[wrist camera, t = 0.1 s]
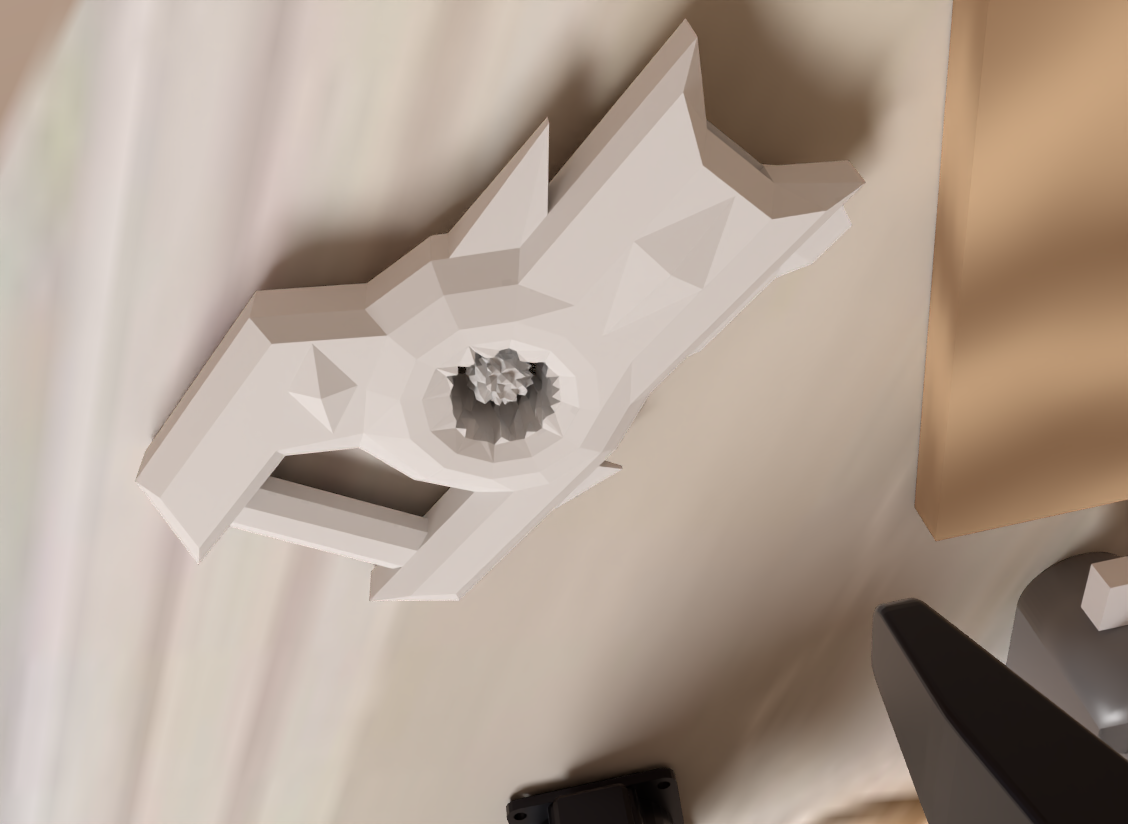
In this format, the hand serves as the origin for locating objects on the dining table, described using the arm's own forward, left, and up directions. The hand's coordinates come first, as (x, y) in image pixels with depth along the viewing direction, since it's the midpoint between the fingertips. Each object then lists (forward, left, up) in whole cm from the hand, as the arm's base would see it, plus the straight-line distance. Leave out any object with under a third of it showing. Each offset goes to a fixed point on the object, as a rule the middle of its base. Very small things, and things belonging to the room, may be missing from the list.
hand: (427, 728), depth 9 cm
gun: (-5, 0, -15) cm, 16 cm away
